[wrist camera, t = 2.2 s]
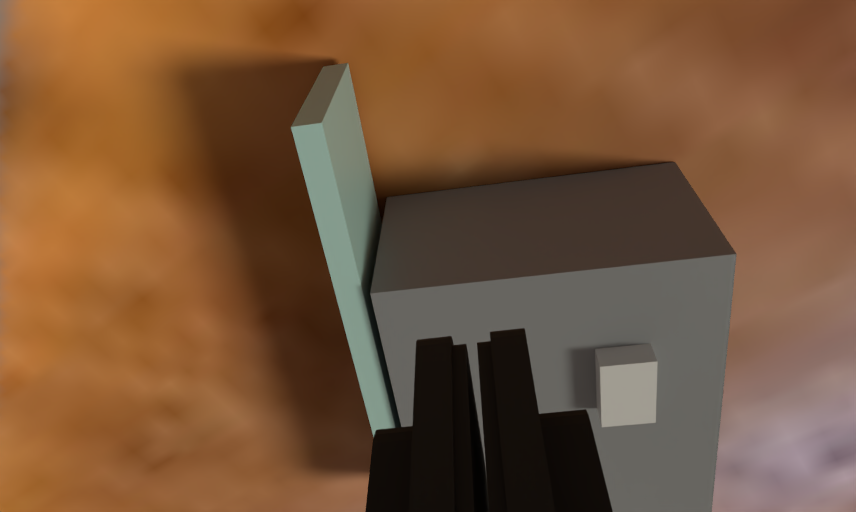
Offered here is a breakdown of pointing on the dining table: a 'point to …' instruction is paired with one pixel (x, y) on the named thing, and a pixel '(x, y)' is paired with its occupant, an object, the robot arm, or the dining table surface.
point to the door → (347, 225)
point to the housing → (577, 311)
